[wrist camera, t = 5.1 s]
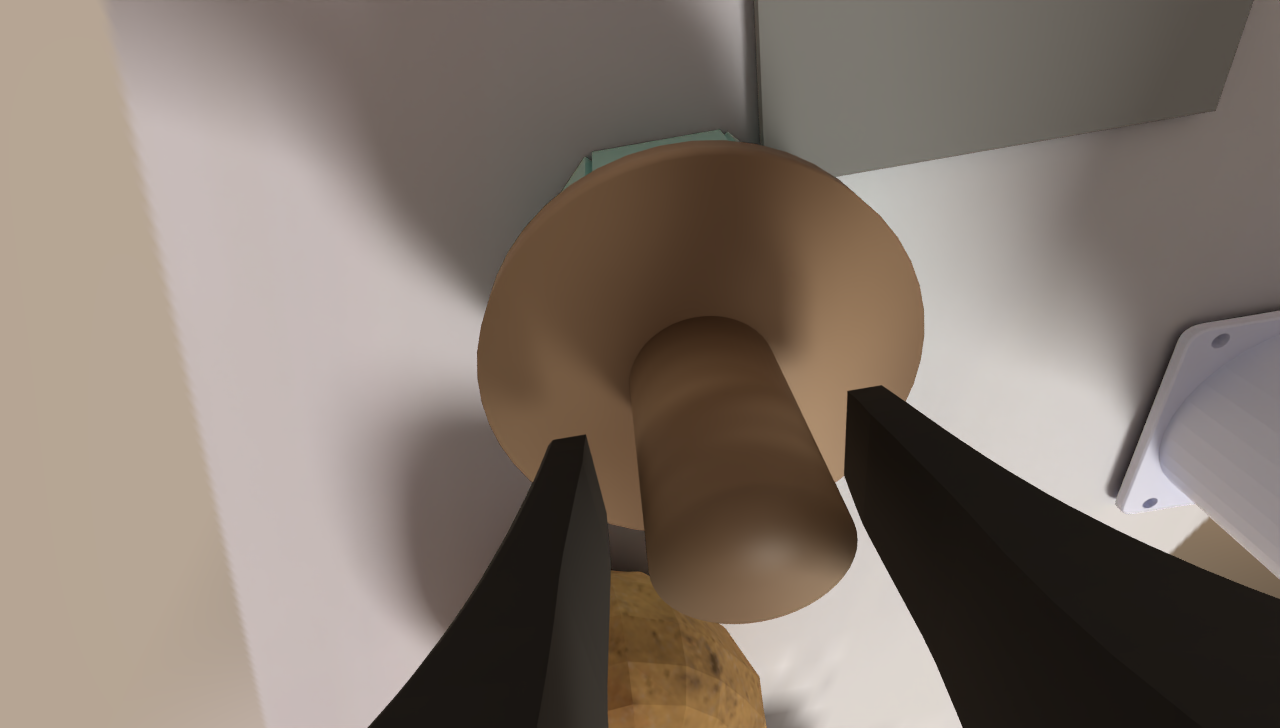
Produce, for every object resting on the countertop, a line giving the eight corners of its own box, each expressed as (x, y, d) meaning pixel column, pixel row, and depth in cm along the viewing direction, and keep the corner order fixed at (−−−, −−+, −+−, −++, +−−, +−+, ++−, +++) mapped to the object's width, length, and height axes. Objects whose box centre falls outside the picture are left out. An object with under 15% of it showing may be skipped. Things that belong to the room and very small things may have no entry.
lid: (941, 119, 11) (1196, 231, 6) (870, 484, 16) (986, 695, 11) (436, 162, 11) (326, 312, 6) (523, 519, 16) (497, 749, 11)
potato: (738, 472, 21) (809, 711, 14) (739, 693, 29) (786, 915, 22) (452, 506, 21) (389, 763, 14) (531, 719, 29) (514, 950, 22)
